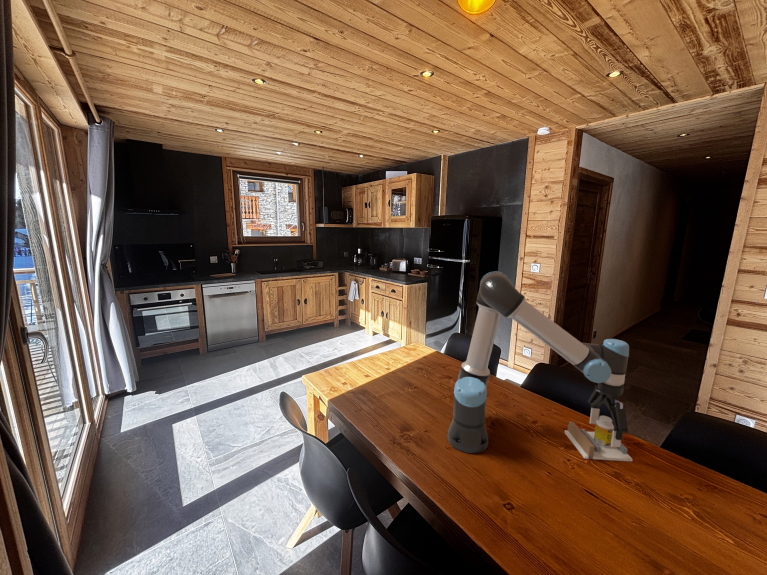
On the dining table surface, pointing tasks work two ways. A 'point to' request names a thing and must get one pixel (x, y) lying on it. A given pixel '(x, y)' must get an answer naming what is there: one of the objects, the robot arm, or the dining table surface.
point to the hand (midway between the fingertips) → (603, 434)
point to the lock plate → (594, 446)
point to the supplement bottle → (603, 431)
